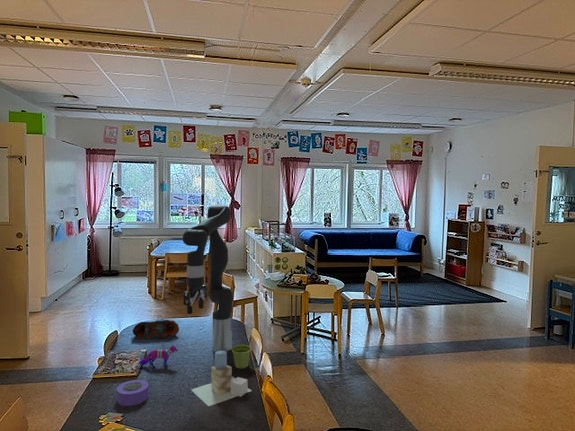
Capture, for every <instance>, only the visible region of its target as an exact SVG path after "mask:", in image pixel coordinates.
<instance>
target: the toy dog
mask: <svg viewBox="0 0 575 431" xmlns="http://www.w3.org/2000/svg"><path fill="white" fill-rule="evenodd" d="M178 351H179V349H177V347H176V345H174V344H172V345H171V346H170V347H168V348H167V349H154V350H153V349H152V350H151V351H150V352H149V353H147V355H146V357H145V358H143V359H141V360H140V361H139V362H138V363H139V364H140V365H142V366H143V365H147V364H149V365H150V366H152V368H156V365H154V362H155V361H156V360H157V359H163V365H165V367H166V368H167V367H170V365H168V362H167V361H168V360H169V357H170V356H171V355H172V354H173V353H174V352H177V353H178Z"/></svg>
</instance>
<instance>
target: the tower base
mask: <svg viewBox="0 0 575 431" xmlns="http://www.w3.org/2000/svg"><path fill="white" fill-rule="evenodd" d="M211 383H212V390H213V391H214V392H215V393H216V394H217V395H221V394H224V393H227V392H230V391H231V379H230V380H227V381H225V382H223V383H221V384H220V383H218V382H216V381H214V380H212V379H211Z"/></svg>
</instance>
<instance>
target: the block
mask: <svg viewBox="0 0 575 431" xmlns="http://www.w3.org/2000/svg"><path fill="white" fill-rule="evenodd" d="M248 384H249V383H248V379H247V378H243V377H240V376H237V377H236V378H235V379H234V380H233V381H231V394H233V395H237V396H236V397H239V398H240V397H242V396H244V395H245V394H247V393H246V392H247V391H248V386H249V385H248Z"/></svg>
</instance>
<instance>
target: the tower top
mask: <svg viewBox="0 0 575 431" xmlns="http://www.w3.org/2000/svg"><path fill="white" fill-rule="evenodd" d="M232 369H233V368H232V366H231V365H228V364H227V367H226V368H225V369H222V370H219V369H216V368H215V365H213V366H211V368H210V373H211V374H210V377H211V381H212V380H214V381H216V382H218V383H220V384H221V383H223V382H225V381H227V380H230V379H232V375H233V374H232V373H233V371H232Z"/></svg>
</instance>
